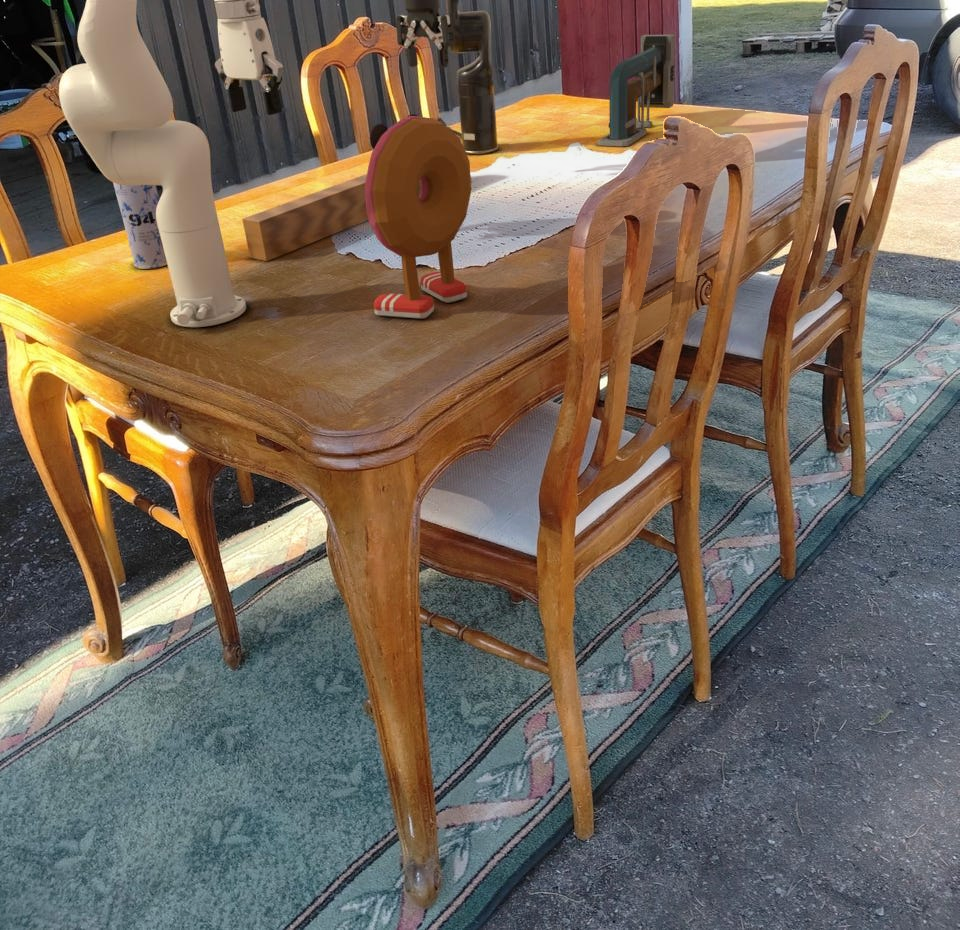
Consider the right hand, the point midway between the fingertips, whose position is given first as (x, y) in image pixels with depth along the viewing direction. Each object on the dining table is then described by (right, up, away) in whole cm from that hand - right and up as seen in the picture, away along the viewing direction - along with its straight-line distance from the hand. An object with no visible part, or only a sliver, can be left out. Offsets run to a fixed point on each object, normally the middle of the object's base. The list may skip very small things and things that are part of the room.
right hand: (428, 66), depth 212 cm
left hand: (-30, -22, -33) cm, 50 cm away
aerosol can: (-53, -47, -21) cm, 74 cm away
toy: (+2, -61, -51) cm, 79 cm away
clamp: (+53, +2, +48) cm, 71 cm away
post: (-13, -33, -3) cm, 36 cm away
